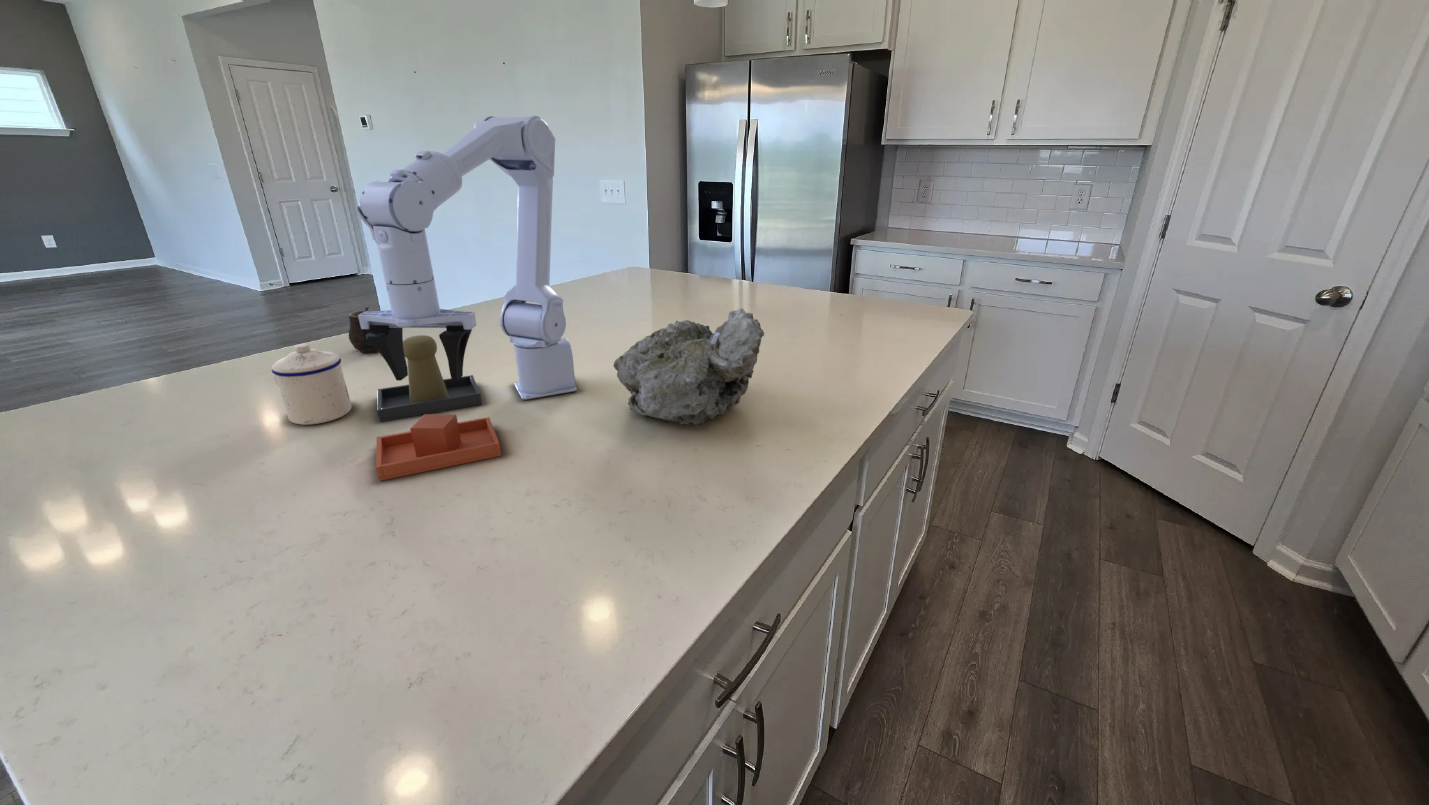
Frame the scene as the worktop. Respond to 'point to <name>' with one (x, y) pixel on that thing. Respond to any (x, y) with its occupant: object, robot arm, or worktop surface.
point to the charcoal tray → (398, 401)
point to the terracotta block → (435, 434)
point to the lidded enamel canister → (312, 385)
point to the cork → (423, 369)
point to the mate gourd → (359, 333)
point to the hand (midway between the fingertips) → (429, 378)
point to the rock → (691, 368)
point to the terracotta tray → (401, 458)
